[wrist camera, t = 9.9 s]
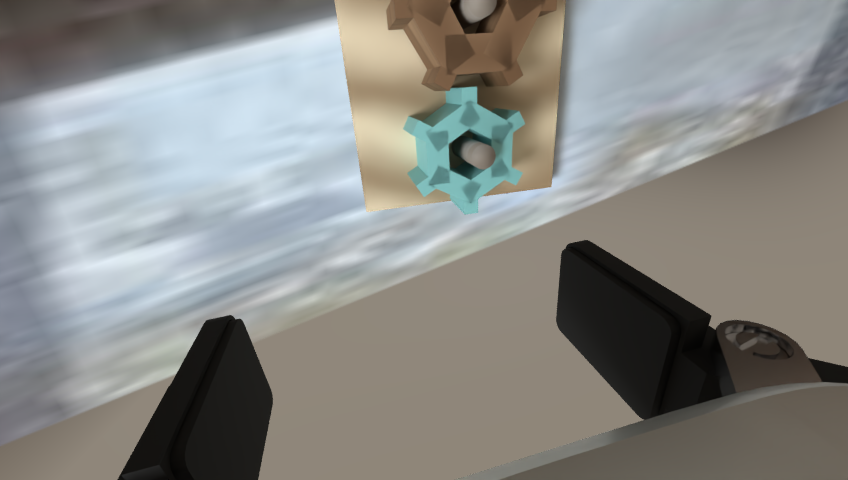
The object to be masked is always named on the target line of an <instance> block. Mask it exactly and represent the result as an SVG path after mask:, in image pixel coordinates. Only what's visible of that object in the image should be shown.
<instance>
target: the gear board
mask: <svg viewBox="0 0 848 480" xmlns="http://www.w3.org/2000/svg"><path fill="white" fill-rule="evenodd" d="M390 1H391V0H335V6H336V13H337V19H338V26H339V33H340V39H341V46H342V52H343V59H344V66H345V72H346V79H347V85H348V92H349V99H350V105H351V112H352V119H353V125H354V132H355V138H356V145H357V152H358V158H359V165H360V172H361V178H362V185H363V191H364V198H365V205H366V211H367V212H371V211H378V210H386V209H393V208H400V207H408V206H415V205H422V204H430V203H437V202H444V201H451V199H450V194H448V193H445V192H443V191H441V190H438V189H435V190H434V191H432V192H431V193H429V194H428V195H427V196H425V197H424V196H423V195H422V194H421V192H420V191H419V190H418V188H417V187H416V185H415V184H414V183H413V181H412V180H411V178H410V177H409V176H408V174H407V173H408V172H409V171H411V170H412V169H414V168H415V167H416V166H418V165H417V153H416V140H415V136H413V135H411V134H410V133H408V132H407V131H405V130H404V129H403V127H404V125H405V123H406V121H407V118H408V116H410V117H412V118H415V119H417V120H419V121H421V122H422V121H423V120H424V119H426V118H427V117H428V116H430V115H431V114H433V113H434V112H435V111H437V110H438V109H439V108H441V107H442V106H443V105H445V104H446V91H433V90H432V89H430V88H428V87H426V86H424V85H422V84H421V83H422V81H423V78H424V76H425V74H426V71H427V68H426V67H425V65H424V63H423V62H422V60H421V58H420V57H419V55H418V53H417V52H416V50H415V48H414V47H413V45H412V43H411V42H410V40H409V38H408V36H407V35H406V33H405V31H404V30H403V29H400V30H388V24H387V14H386V10H387V8H388V6H389V3H390ZM565 3H566V0H557V9H556V11H553V12H551V13H548V14H546V15H543V16H541V17H538V18H537V20H536V22H535V24H534V26H533V28H532V30H531V32H530V34H529V36H528V38H527V40H526V42H525V44H524V46H523V48H522V50H521V52H520V54H519V56H518V58H517V62H518V64H519V66H520V69H521V71H522V73H523V76H522V77H521V78H519V79H518V80H516V81H515V82H514V83H512V84H511V85H510V86H494V87H486V85H485V83H484V82H483V80H482V78H481V76H480V74H475V75H462V76H456V78H455V80H454V82H453V84H452V87H451V88H456V87H477V104H478V105H480V106H482V107H483V108H485V109H487V110H489V111H492V110H494V109H495V108H499V109H508V110H517V111H519V112H520V114H521V116H522V118H523V120H524V122H525V124H524V125H523V126H522V127H520V128H519V129H517V130H516V131H515V132H513V141H512V167H513V168H515V169H517V170H519V171H521V172H522V173H523V174H522V176H521V178H520V179H519V181H518V183H517V185H514V184H512V183H510V182H508V181H506V180H504V181H503V182H501V183H500V184H498V185H497V186H496V187H494V188H493V189H491V190H490V191H489V192H487V193H486V194H484V195H483V196H489V195H496V194H503V193H511V192H518V191H525V190H533V189H540V188H547V187H551V185H552V172H553V159H554V146H555V133H556V120H557V107H558V94H559V81H560V68H561V55H562V42H563V29H564V16H565ZM496 4H497V0H451V2H450V6H451V8H452V10H453V12H454V14H455V16H456V18H457V20H458V22H459V23H460V25H461V27H462V29H463V31H464V33H465V34H475V32H476V30H477V28H478V26H479V23H480V21H481V19H483V18H485V17H487V16H489V15H490V14H491V13H492V12H493V11H494V9H495V7H496ZM495 157H496V154H495V151H494V149H493V148H492V147H491V146H489V145H487V144H484V143H482V142H479V141H476V140H474V139H472V133H471V132H469V131H466V132H464V133H463V134H462V135H460V136H459V137H458V138H456V139H455V140H453V141H452V142H451V143H449V166H450V167H452V168H456V167H458V166H459V165H461V164H462V163H463V162H465V161H466V162H468V163H470V164H471V165H473V166H475V167H477V168H478V169H487V168H489V167H491V166H492V164H493V163H494V161H495Z"/></svg>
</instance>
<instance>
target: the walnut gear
mask: <svg viewBox="0 0 848 480" xmlns="http://www.w3.org/2000/svg"><path fill="white" fill-rule="evenodd" d="M450 2H451V0H391V1H390V3H389V6H388V8H387V10H386V14H387V24H388V30H400V29H403V30H404V31H405V33H406V35H407V36H408V38H409V40H410V42H411V43H412V45H413V47H414V48H415V50H416V52H417V53H418V55H419V57H420V58H421V60H422V62H423V63H424V65H425V67H426V68H427V71H426V74H425V76H424V78H423V81H422V83H421V84H422V85H424V86H426V87H428V88H430V89H432V90H433V91H450V89H451V87H452V84H453V82H454V80H455V78H456V76H462V75H475V74H480V76H481V78H482V80H483V82H484V83H485V85H486V87H494V86H510V85H511V84H512V83H514V82H515V81H516V80H518V79H519V78H521V77H522V76H523V73H522V71H521V69H520V66H519V64H518V62H517V58H518V56H519V54H520V52H521V50H522V48H523V46H524V44H525V42H526V40H527V38H528V36H529V34H530V32H531V30H532V28H533V26H534V24H535V22H536V20H537V18H538V17H541V16H543V15H546V14H548V13H551V12H553V11H556V9H557V0H497V4H496V7H495V9H494V11H493V12H492V13H491V14H490V15H489V16H487V17H485V18H483V19H481V21H480V23H479V26H478V28H477V30H476V32H475V34H465V33H464V31H463V29H462V27H461V25H460V23H459V22H458V20H457V18H456V16H455V14H454V12H453V10H452V8H451V6H450Z"/></svg>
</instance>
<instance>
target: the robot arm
mask: <svg viewBox="0 0 848 480" xmlns="http://www.w3.org/2000/svg"><path fill="white" fill-rule="evenodd" d="M710 319H711V315H710V314H708V313H706V312H705V311H703V310H701V309H700V308H698V307H696V306H695V305H693V304H692V303H690V302H688V301H687V300H685V299H684V298H682V297H680V296H679V295H677V294H675V293H674V292H672V291H670V290H669V289H667V288H666V287H664V286H662V285H661V284H659V283H657V282H656V281H654V280H652V279H651V278H649V277H648V276H646V275H644V274H642V273H641V272H639V271H638V270H636V269H634V268H633V267H631V266H629V265H628V264H626V263H625V262H623V261H621V260H620V259H618V258H616V257H615V256H613V255H611V254H610V253H608V252H606V251H605V250H603V249H602V248H600V247H599V246H597V245H595V244H593V243H592V242H590V241H588V240H584V241H579V242H574V243H570V244H568V245H567V246H566V249H564V250H563V251H562V254H561V265H560V278H559V291H558V304H557V317H556V322H557V325H558V328H559V330H560V331H561V332H562V333H563V334H564V335H565V336H566V338H567V339H569V341H570V342H571V343H572V344H573V345H574V346H575V347H576V348H577V349H578V351H579V352H580V353H581V354H582V355H583V356H584V357H585V358H586V359H587V360H588V361H589V363H590V364H591V365H592V366H593V367H594V368H595V369H596V370H597V371H598V372H599V373H600V375H601V376H602V377H603V378H604V379H605V380H606V381H607V382H608V383H609V384H610V386H611V387H612V388H613V389H614V390H615V391H616V392H617V393H618V394H619V395H620V396H621V397H622V399H623V400H624V401H625V402H626V403H627V404H628V405H629V406H630V407H631V408H632V409H633V410H634V411H635V413H636V414H637V415H638V416H639V417H640V418H642V419H644V420H643V421H640V422H637V423H634V424H630V425H627V426H624V427H621V428H618V429H614V430H612V431H608V432H605V433H601V434H598V435H595V436H592V437H589V438H585V439H582V440H579V441H576V442H573V443H570V444H566V445H563V446H560V447H557V448H554V449H551V450H548V451H544V452H541V453H538V454H535V455H532V456H528V457H526V458H523V459H519V460H516V461H513V462H510V463H506V464H503V465H500V466H497V467H494V468H491V469H488V470H484V471H481V472H478V473H475V474H472V475H469V476H466V477H463V478H459V479H456V480H848V367H845V366H841V365H836V364H832V363H828V362H823V361H819V360H814V359H810V358H808V357H807V356H806V354H805V353H804V351H803V349H802V348H801V347H800V346H799V345H798V343H796V341H794V340H793V339H791V338H790V337H789V336H787V335H786V334H783V333H782V332H779V331H778V330H776V329H773V328H771V327H768V326H765V325H762V324H759V323H754V322H750V321H741V320H731V321H725V322H723V323H720V324H719V325H718V326H717V328H716V330H715V329H713V328H712V327H710V326H709V322H710ZM272 404H273V398H272V392H271V389H270V386H269V384H268V381H267V379H266V377H265V374H264V372H263V369H262V367H261V364H260V362H259V360H258V357H257V354H256V352H255V350H254V347H253V345H252V342H251V340H250V337H249V335H248V332H247V330H246V327H245V325H244V323H243V321H242V320H241V319H236V320H235V318H234V317H233V316H231V315H229V316H224V317H219V318H214V319H210V320H207V321H206V322H205V323H204V325H203V326H202V328H201V330H200V332H199V334H198V336H197V337H196V339H195V341H194V343H193V345H192V347H191V348H190V350H189V352H188V354H187V356H186V358H185V359H184V361H183V363H182V365H181V367H180V369H179V370H178V372H177V374H176V376H175V378H174V380H173V381H172V383H171V385H170V386H169V387H168V389H167V391H166V393H165V394H164V396H163V398H162V400H161V402H160V403H159V405H158V407H157V409H156V411H155V413H154V414H153V416H152V418H151V420H150V422H149V423H148V425H147V427H146V429H145V431H144V433H143V434H142V436H141V438H140V440H139V442H138V444H137V445H136V447H135V449H134V451H133V453H132V455H131V456H130V458H129V460H128V462H127V464H126V466H125V468H124V469H123V471H122V473H121V474H120V476H119V479H118V480H258V477H259V471H260V467H261V462H262V456H263V451H264V446H265V440H266V436H267V431H268V425H269V420H270V415H271V410H272Z"/></svg>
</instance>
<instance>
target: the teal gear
mask: <svg viewBox="0 0 848 480" xmlns="http://www.w3.org/2000/svg"><path fill="white" fill-rule="evenodd" d="M524 124H525V122H524V120H523V118H522V116H521V114H520V112H519V111H517V110H508V109H499V108H495V109H494V110H492V111H489V110H487V109H485V108H483V107H482V106H480V105H478V104H477V87H456V88H451V89H450V91H446V104H445V105H443V106H442V107H441V108H439V109H438V110H437V111H435V112H434V113H433V114H431V115H430V116H428V117H427V118H426V119H424V120H423V121H422V122H421V121H419V120H417V119H415V118H412V117H410V116H408V118H407V121H406V123H405V125H404V127H403V129H404V130H405V131H407V132H408V133H410V134H411V135H413V136H415V140H416V153H417V165H418V166H416V167H415V168H414V169H412V170H411V171H409V172H408V173H407V174H408V176H409V177H410V178H411V180H412V181H413V183H414V184H415V185H416V187H417V188H418V190H419V191H420V192H421V194H422V195H423V196H424V197H425V196H427V195H428V194H429V193H431V192H432V191H434V190H435V189H438V190H441V191H443V192H445V193H448V194H450V199H451V201H452V202H453V203H454V204H455V205H456V206H457V207H458V208H459V209H460V210H461V211H462V212H463V213H464V214H472V213H478V199H479V198H480V197H482V196H483V195H484V194H486V193H487V192H489V191H490V190H491V189H493V188H494V187H496V186H497V185H498V184H500V183H501V182H503V181H504V180H506V181H508V182H510V183H512V184H514V185H517V183H518V181H519V179H520V178H521V176H522V174H523V173H522V172H521V171H519V170H517V169H515V168H513V167H512V141H513V132H515V131H516V130H517V129H519V128H520V127H522V126H523V125H524ZM466 131H469V132H471V133H472V139H474V140H476V141H479V142H482V143H484V144H487V145H489V146H491V147H492V148H493V149H494V151H495V154H496V157H495V161H494V163H493V164H492V166H491V167H489V168H487V169H478V168H477V167H475V166H473V165H471V164H470V163H468V162H466V161H465V162H463V163H462V164H461V165H459V166H458V167H456V168H452V167H450V166H449V143H451V142H452V141H453V140H455V139H456V138H458V137H459V136H460V135H462V134H463V133H464V132H466Z"/></svg>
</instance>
